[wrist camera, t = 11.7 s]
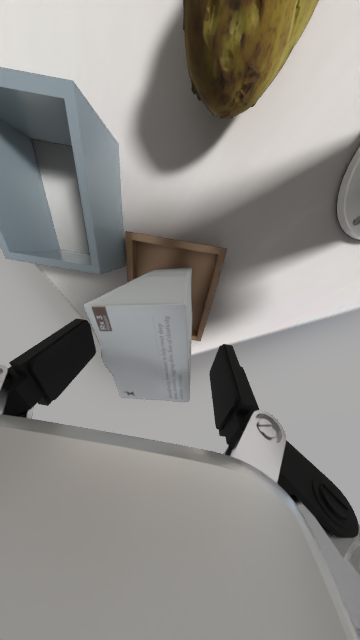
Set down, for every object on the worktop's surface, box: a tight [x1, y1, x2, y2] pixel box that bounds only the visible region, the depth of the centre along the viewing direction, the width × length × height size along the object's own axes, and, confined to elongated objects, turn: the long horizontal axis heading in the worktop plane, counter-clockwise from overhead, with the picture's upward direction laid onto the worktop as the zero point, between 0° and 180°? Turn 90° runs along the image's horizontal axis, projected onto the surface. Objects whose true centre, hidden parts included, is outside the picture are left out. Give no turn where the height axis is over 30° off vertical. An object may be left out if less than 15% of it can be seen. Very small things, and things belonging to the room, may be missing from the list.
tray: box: [125, 231, 227, 341], centre depth 21 cm, size 13×15×2 cm
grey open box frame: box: [0, 67, 125, 274], centre depth 15 cm, size 11×13×6 cm
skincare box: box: [84, 268, 192, 402], centre depth 15 cm, size 8×6×15 cm
